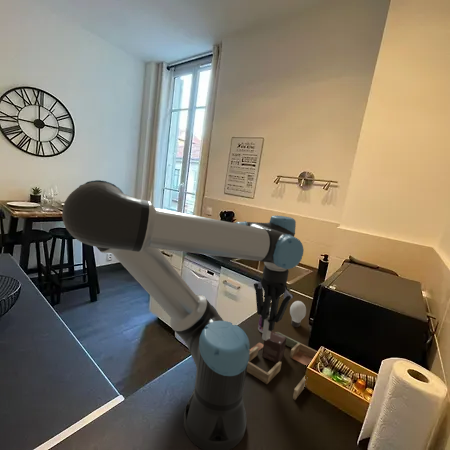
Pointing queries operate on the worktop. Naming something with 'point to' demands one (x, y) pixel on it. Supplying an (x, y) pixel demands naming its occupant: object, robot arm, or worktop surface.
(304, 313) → the light bulb
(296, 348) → the tray
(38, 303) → the worktop surface
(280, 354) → the box
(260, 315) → the pill bottle
